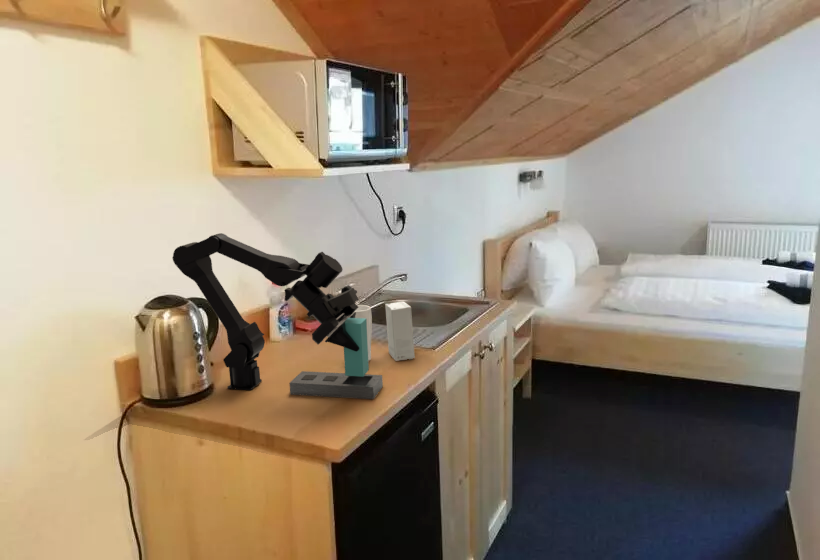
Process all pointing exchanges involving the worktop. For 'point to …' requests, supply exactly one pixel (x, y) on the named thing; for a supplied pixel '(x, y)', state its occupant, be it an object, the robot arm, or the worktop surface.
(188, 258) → the robot arm
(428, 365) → the worktop surface
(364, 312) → the drinking glass
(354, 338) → the teal peg
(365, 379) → the grey peg board
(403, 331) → the skincare box
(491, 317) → the worktop surface
